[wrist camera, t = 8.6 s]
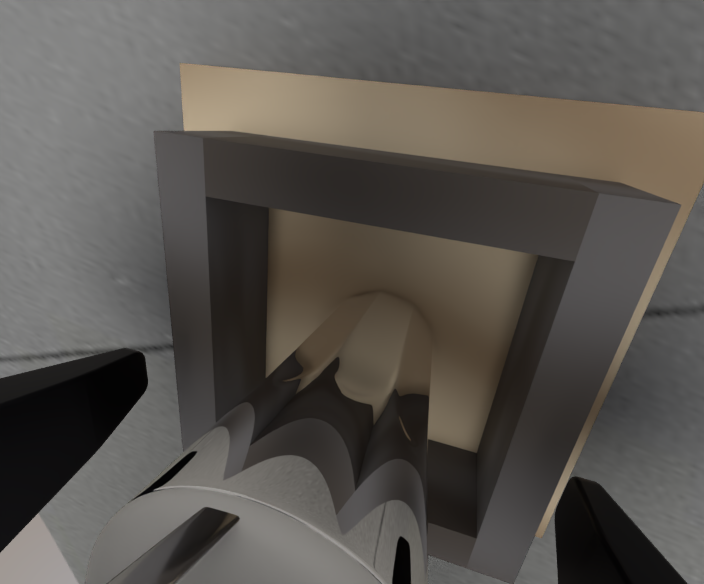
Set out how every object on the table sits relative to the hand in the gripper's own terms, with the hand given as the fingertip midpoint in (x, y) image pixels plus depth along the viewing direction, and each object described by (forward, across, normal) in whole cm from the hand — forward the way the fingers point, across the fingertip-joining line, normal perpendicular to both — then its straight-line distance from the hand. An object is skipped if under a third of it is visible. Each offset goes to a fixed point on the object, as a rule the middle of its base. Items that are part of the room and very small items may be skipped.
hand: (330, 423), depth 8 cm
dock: (+6, 0, 0) cm, 6 cm away
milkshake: (+5, 0, 0) cm, 5 cm away
